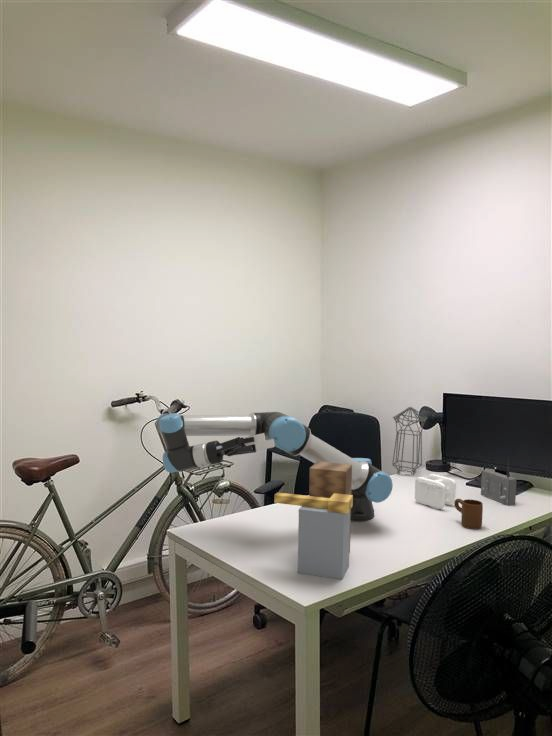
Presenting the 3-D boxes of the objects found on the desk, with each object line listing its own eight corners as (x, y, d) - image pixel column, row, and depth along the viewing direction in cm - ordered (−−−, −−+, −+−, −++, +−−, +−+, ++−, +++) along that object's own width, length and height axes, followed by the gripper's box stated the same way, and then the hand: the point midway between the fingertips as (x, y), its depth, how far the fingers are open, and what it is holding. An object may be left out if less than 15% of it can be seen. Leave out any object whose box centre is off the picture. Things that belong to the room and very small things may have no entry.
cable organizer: (457, 507, 247) (458, 480, 246) (441, 511, 241) (442, 484, 240) (428, 498, 259) (429, 472, 258) (413, 502, 253) (413, 476, 252)
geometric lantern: (395, 468, 313) (399, 404, 311) (425, 472, 306) (429, 407, 304) (387, 474, 299) (391, 407, 297) (418, 479, 292) (422, 410, 290)
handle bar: (271, 505, 182) (271, 494, 181) (279, 497, 189) (279, 487, 189) (347, 513, 174) (347, 502, 174) (352, 506, 182) (352, 495, 181)
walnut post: (307, 558, 191) (309, 468, 188) (315, 547, 200) (317, 461, 198) (343, 563, 187) (346, 471, 185) (349, 551, 196) (352, 464, 194)
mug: (447, 521, 228) (448, 498, 228) (460, 518, 233) (461, 495, 232) (473, 530, 218) (474, 506, 218) (486, 527, 223) (487, 503, 222)
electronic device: (515, 504, 252) (517, 459, 250) (503, 506, 249) (505, 460, 248) (486, 493, 268) (488, 451, 266) (475, 495, 265) (476, 452, 264)
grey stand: (297, 572, 179) (298, 509, 178) (306, 560, 189) (307, 500, 187) (342, 579, 175) (343, 514, 173) (348, 566, 184) (350, 504, 183)
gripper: (221, 468, 205) (279, 455, 202) (197, 460, 182) (262, 446, 178) (218, 447, 208) (275, 434, 204) (194, 437, 184) (258, 423, 181)
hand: (269, 440), depth 191 cm, fingers open, 13 cm apart
